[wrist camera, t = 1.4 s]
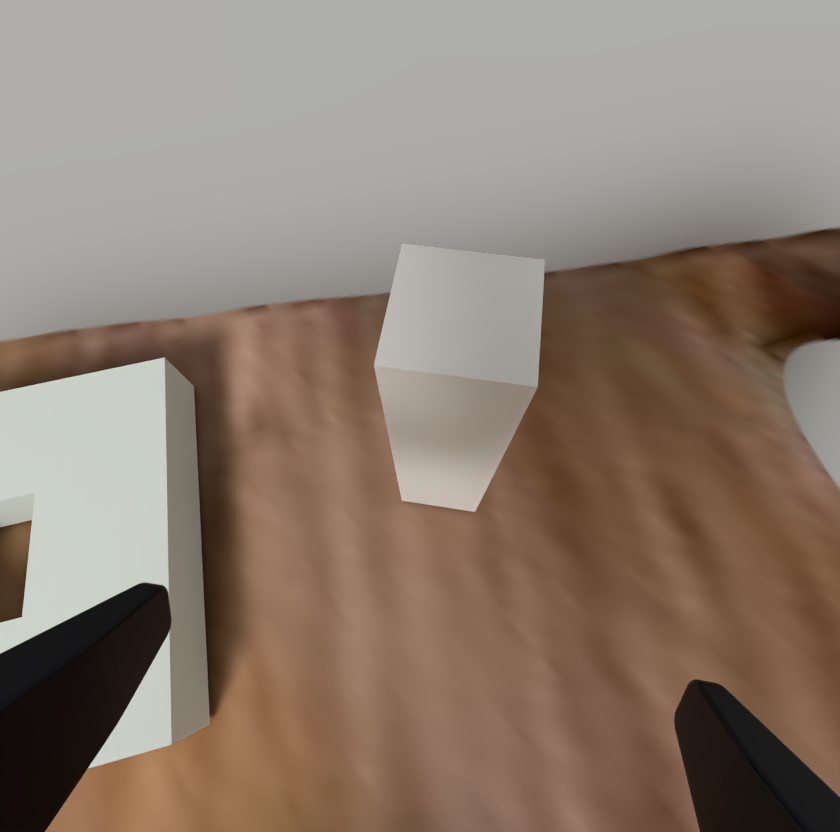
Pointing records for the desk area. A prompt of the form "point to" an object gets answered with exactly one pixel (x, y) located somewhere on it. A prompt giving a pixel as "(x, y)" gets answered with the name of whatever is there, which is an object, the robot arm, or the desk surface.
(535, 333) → the plug
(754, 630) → the desk surface
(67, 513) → the socket
